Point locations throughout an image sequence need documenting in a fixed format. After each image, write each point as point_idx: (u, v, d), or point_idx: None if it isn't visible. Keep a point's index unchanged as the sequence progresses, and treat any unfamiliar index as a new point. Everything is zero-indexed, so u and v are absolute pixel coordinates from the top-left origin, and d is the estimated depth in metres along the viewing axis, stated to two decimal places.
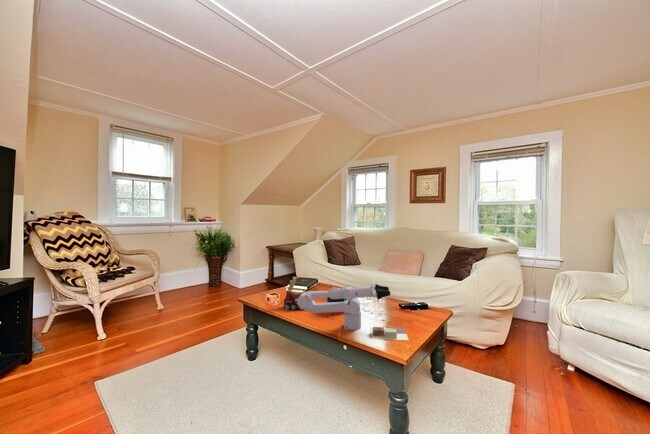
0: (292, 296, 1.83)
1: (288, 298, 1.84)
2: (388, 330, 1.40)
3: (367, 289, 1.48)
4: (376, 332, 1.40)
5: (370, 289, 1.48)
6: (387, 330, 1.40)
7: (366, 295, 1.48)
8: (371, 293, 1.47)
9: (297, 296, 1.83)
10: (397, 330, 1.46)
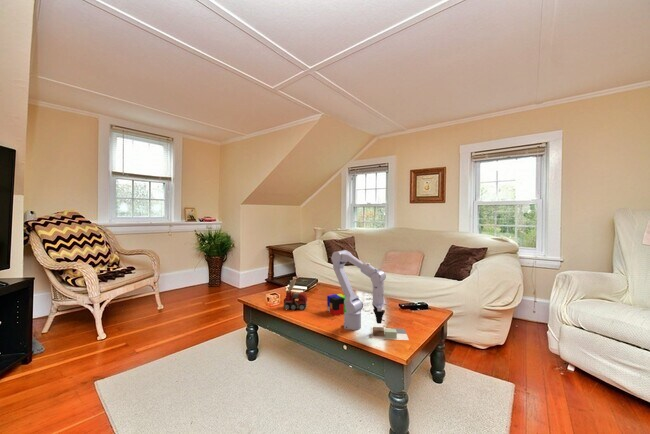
0: (292, 296, 1.84)
1: (288, 298, 1.84)
2: (388, 330, 1.40)
3: (382, 299, 1.39)
4: (376, 332, 1.40)
5: (382, 302, 1.39)
6: (387, 330, 1.40)
7: (376, 297, 1.39)
8: (378, 303, 1.39)
9: (297, 296, 1.83)
10: (397, 330, 1.46)
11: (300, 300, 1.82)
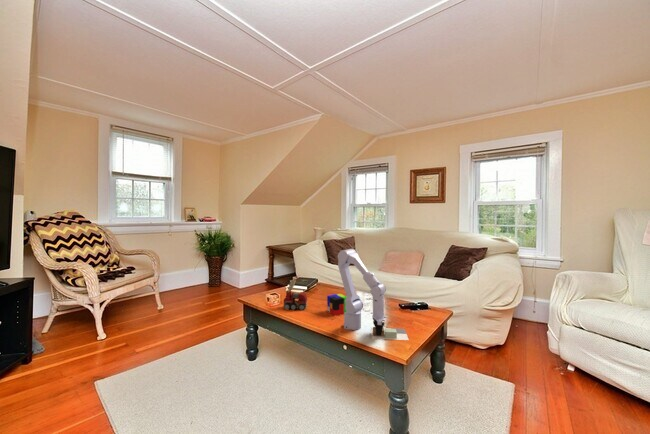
0: (292, 296, 1.84)
1: (288, 298, 1.84)
2: (388, 330, 1.40)
3: (382, 312, 1.39)
4: None
5: (382, 315, 1.39)
6: (387, 330, 1.40)
7: (376, 310, 1.39)
8: (378, 316, 1.39)
9: (297, 296, 1.84)
10: (397, 330, 1.46)
11: (300, 300, 1.82)
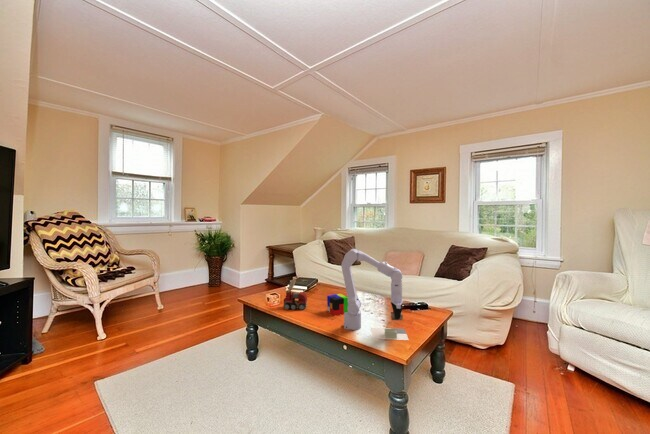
0: (292, 296, 1.84)
1: (288, 298, 1.84)
2: (388, 330, 1.40)
3: (400, 296, 1.43)
4: (394, 317, 1.43)
5: (400, 299, 1.43)
6: (387, 330, 1.40)
7: (395, 295, 1.42)
8: (397, 300, 1.42)
9: (297, 296, 1.84)
10: (397, 330, 1.46)
11: (300, 300, 1.82)
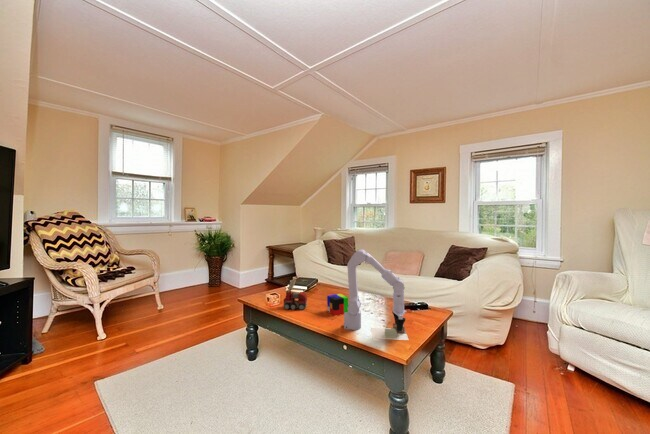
0: (292, 296, 1.84)
1: (288, 298, 1.84)
2: (388, 330, 1.40)
3: (402, 307, 1.43)
4: (396, 329, 1.44)
5: (402, 310, 1.43)
6: (387, 330, 1.40)
7: (397, 305, 1.43)
8: (399, 311, 1.43)
9: (297, 296, 1.84)
10: None
11: (300, 300, 1.82)
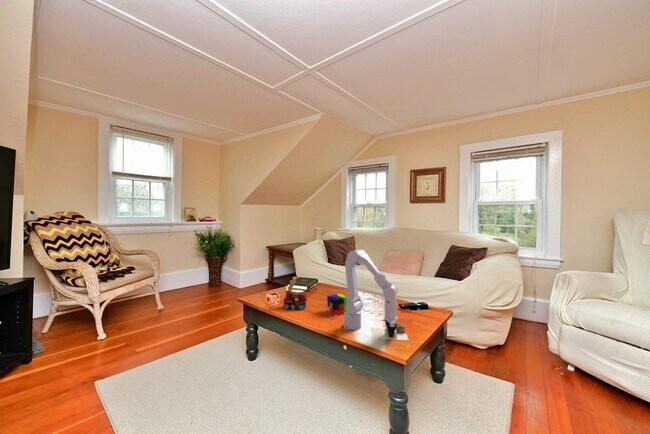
0: (292, 296, 1.84)
1: (288, 298, 1.84)
2: None
3: (395, 313, 1.37)
4: (396, 329, 1.44)
5: (394, 316, 1.37)
6: (387, 330, 1.40)
7: (388, 312, 1.37)
8: (391, 318, 1.37)
9: (297, 296, 1.84)
10: None
11: (300, 300, 1.83)
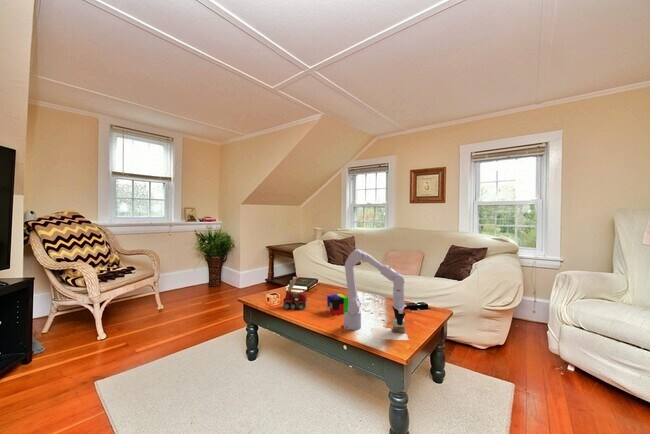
0: (292, 296, 1.84)
1: (288, 297, 1.85)
2: (396, 319, 1.45)
3: (402, 301, 1.43)
4: (396, 329, 1.44)
5: (402, 304, 1.43)
6: (395, 319, 1.45)
7: (397, 300, 1.43)
8: (399, 305, 1.43)
9: (297, 296, 1.84)
10: None
11: (300, 300, 1.83)
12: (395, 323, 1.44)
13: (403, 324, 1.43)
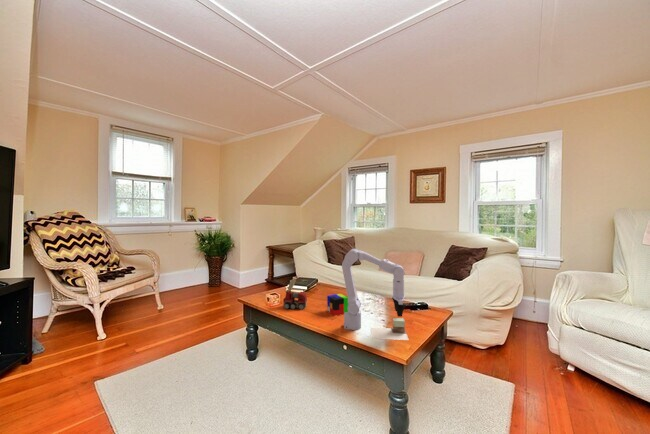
0: (292, 295, 1.85)
1: (288, 297, 1.85)
2: (396, 319, 1.45)
3: (402, 292, 1.43)
4: (396, 329, 1.44)
5: (402, 295, 1.43)
6: (395, 319, 1.45)
7: (397, 291, 1.43)
8: (399, 296, 1.43)
9: (297, 295, 1.85)
10: None
11: (300, 299, 1.83)
12: (395, 323, 1.44)
13: (403, 324, 1.43)
